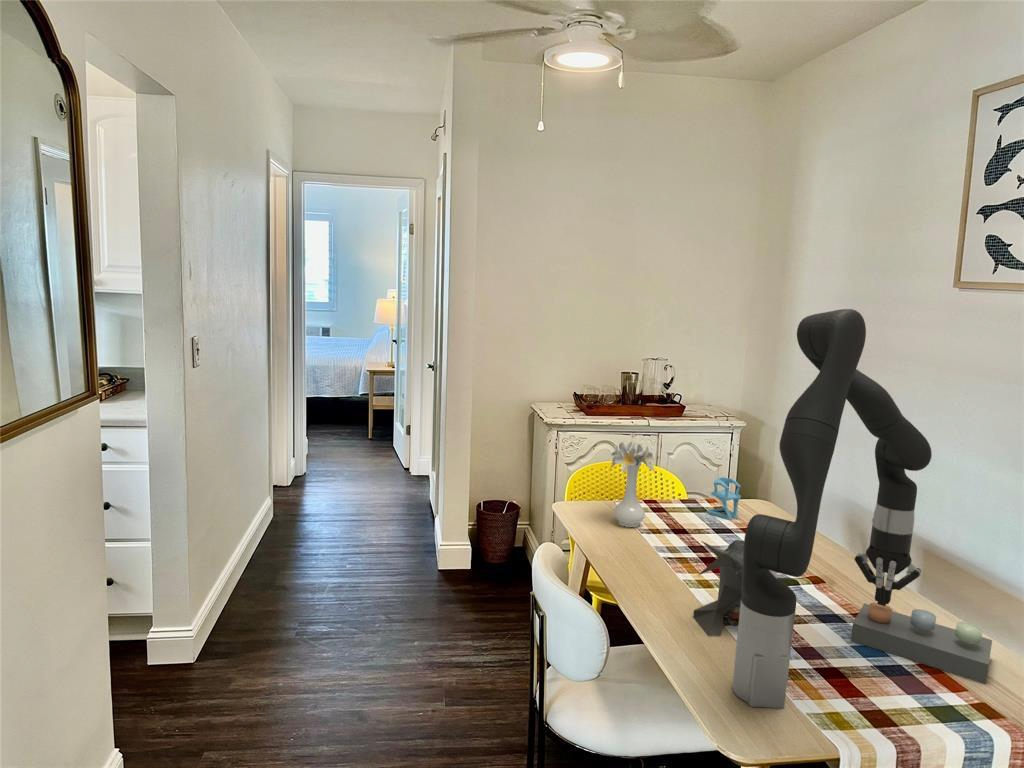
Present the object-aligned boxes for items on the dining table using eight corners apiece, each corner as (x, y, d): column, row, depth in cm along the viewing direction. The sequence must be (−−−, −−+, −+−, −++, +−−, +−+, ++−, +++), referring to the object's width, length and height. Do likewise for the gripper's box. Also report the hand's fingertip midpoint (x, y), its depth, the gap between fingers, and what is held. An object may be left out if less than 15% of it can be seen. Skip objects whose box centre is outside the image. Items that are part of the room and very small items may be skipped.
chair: (725, 521, 219) (728, 484, 217) (705, 512, 226) (709, 476, 225) (742, 518, 223) (746, 481, 221) (723, 509, 230) (726, 474, 228)
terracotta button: (892, 617, 151) (893, 607, 151) (888, 625, 148) (890, 614, 148) (869, 611, 154) (871, 600, 154) (865, 618, 150) (867, 607, 150)
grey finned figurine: (776, 634, 151) (785, 554, 148) (708, 636, 148) (716, 555, 145) (745, 602, 165) (753, 529, 162) (682, 604, 162) (689, 530, 159)
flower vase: (643, 514, 223) (649, 437, 219) (653, 535, 204) (660, 452, 200) (602, 511, 223) (607, 435, 219) (608, 533, 205) (614, 449, 201)
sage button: (981, 637, 142) (983, 626, 141) (980, 646, 138) (981, 635, 138) (956, 630, 144) (957, 619, 144) (953, 638, 141) (955, 627, 141)
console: (989, 658, 145) (992, 640, 144) (985, 683, 135) (988, 664, 134) (861, 619, 159) (864, 603, 158) (850, 640, 149) (852, 623, 149)
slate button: (935, 624, 147) (937, 614, 146) (933, 632, 143) (934, 621, 143) (911, 617, 149) (913, 607, 149) (908, 625, 146) (910, 614, 145)
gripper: (931, 529, 147) (919, 607, 149) (861, 514, 154) (852, 588, 157) (926, 539, 141) (914, 620, 143) (854, 523, 148) (844, 600, 151)
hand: (881, 603), depth 150 cm, fingers closed
